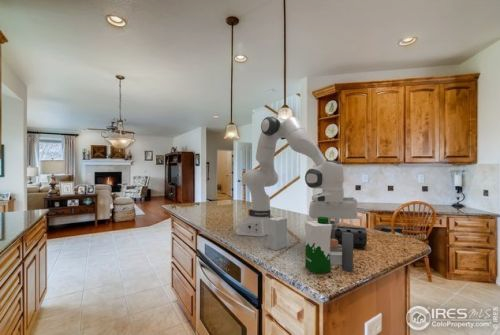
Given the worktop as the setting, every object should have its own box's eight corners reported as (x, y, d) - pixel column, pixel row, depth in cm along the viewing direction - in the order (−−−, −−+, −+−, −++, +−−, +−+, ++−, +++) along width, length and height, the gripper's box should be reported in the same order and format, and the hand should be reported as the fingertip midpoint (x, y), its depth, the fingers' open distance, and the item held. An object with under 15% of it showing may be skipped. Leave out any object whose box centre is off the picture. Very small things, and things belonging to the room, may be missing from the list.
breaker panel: (324, 264, 97) (324, 250, 97) (316, 252, 111) (316, 240, 111) (351, 265, 96) (352, 251, 96) (340, 253, 110) (340, 241, 110)
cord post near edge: (344, 271, 90) (344, 234, 90) (340, 267, 94) (340, 232, 94) (354, 271, 90) (354, 235, 90) (350, 267, 94) (350, 232, 94)
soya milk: (334, 273, 89) (334, 219, 89) (312, 275, 87) (312, 220, 87) (322, 264, 97) (322, 215, 97) (301, 265, 95) (302, 216, 95)
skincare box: (278, 244, 122) (278, 215, 122) (287, 247, 117) (287, 217, 118) (266, 248, 116) (267, 217, 117) (275, 251, 112) (276, 219, 112)
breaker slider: (330, 250, 102) (331, 240, 102) (328, 247, 105) (328, 238, 105) (337, 250, 101) (338, 240, 102) (335, 247, 104) (335, 238, 105)
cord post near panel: (327, 251, 112) (327, 222, 112) (324, 249, 116) (325, 220, 116) (335, 252, 112) (336, 222, 112) (333, 249, 116) (333, 220, 116)
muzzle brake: (366, 251, 114) (367, 229, 114) (307, 245, 122) (307, 225, 122) (363, 245, 123) (363, 225, 123) (308, 240, 131) (308, 221, 132)
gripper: (353, 196, 106) (353, 227, 106) (308, 196, 107) (308, 226, 107) (359, 198, 100) (360, 230, 100) (311, 197, 101) (311, 230, 100)
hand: (332, 228), depth 103 cm, fingers closed
